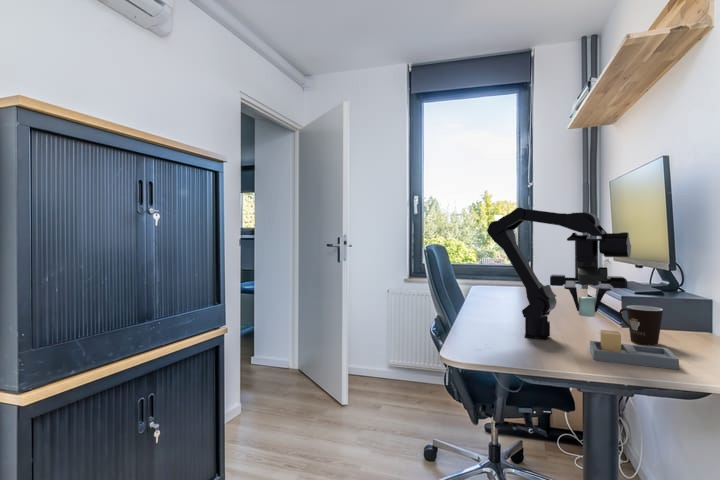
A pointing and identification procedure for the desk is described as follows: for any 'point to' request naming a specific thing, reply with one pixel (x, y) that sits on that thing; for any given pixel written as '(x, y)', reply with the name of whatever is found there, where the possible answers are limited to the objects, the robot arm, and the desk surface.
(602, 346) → the ochre block
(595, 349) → the organizer
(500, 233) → the robot arm
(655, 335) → the coffee mug
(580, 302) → the teal capsule
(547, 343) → the desk surface
